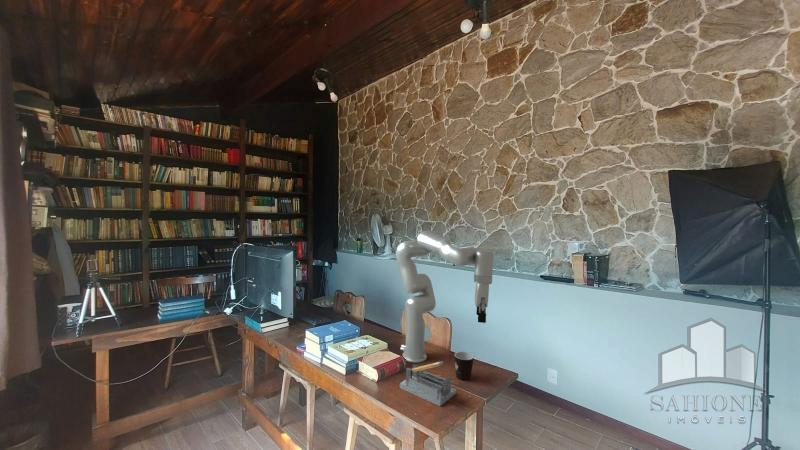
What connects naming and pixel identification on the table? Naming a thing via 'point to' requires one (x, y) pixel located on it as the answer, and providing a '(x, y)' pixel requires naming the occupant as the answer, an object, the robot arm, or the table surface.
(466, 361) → the coffee mug
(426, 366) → the tan rectangular bar
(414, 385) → the grey slotted holder
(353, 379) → the table surface
